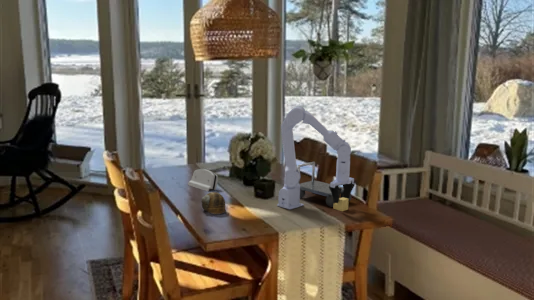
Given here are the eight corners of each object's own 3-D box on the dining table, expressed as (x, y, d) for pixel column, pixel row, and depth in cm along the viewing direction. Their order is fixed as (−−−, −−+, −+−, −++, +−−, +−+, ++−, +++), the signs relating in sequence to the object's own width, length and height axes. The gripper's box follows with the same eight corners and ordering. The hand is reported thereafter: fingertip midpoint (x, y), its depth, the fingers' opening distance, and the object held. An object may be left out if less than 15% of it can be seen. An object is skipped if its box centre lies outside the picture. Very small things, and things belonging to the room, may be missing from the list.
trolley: (333, 208, 220) (335, 173, 217) (293, 196, 236) (294, 164, 233) (352, 202, 230) (353, 169, 227) (312, 191, 246) (313, 160, 243)
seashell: (197, 209, 214) (197, 191, 213) (216, 206, 220) (216, 188, 218) (210, 216, 205) (210, 197, 204) (229, 212, 211) (230, 194, 209)
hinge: (187, 184, 254) (192, 165, 254) (194, 186, 257) (199, 167, 258) (208, 191, 242) (213, 171, 243) (215, 193, 246) (220, 173, 247)
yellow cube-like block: (342, 211, 216) (343, 200, 215) (333, 208, 219) (333, 197, 219) (347, 209, 219) (348, 198, 218) (338, 207, 222) (339, 196, 221)
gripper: (340, 174, 208) (338, 206, 210) (360, 169, 218) (358, 199, 221) (326, 171, 213) (325, 202, 215) (347, 166, 223) (345, 196, 225)
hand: (341, 200), depth 218 cm, fingers open, 7 cm apart
